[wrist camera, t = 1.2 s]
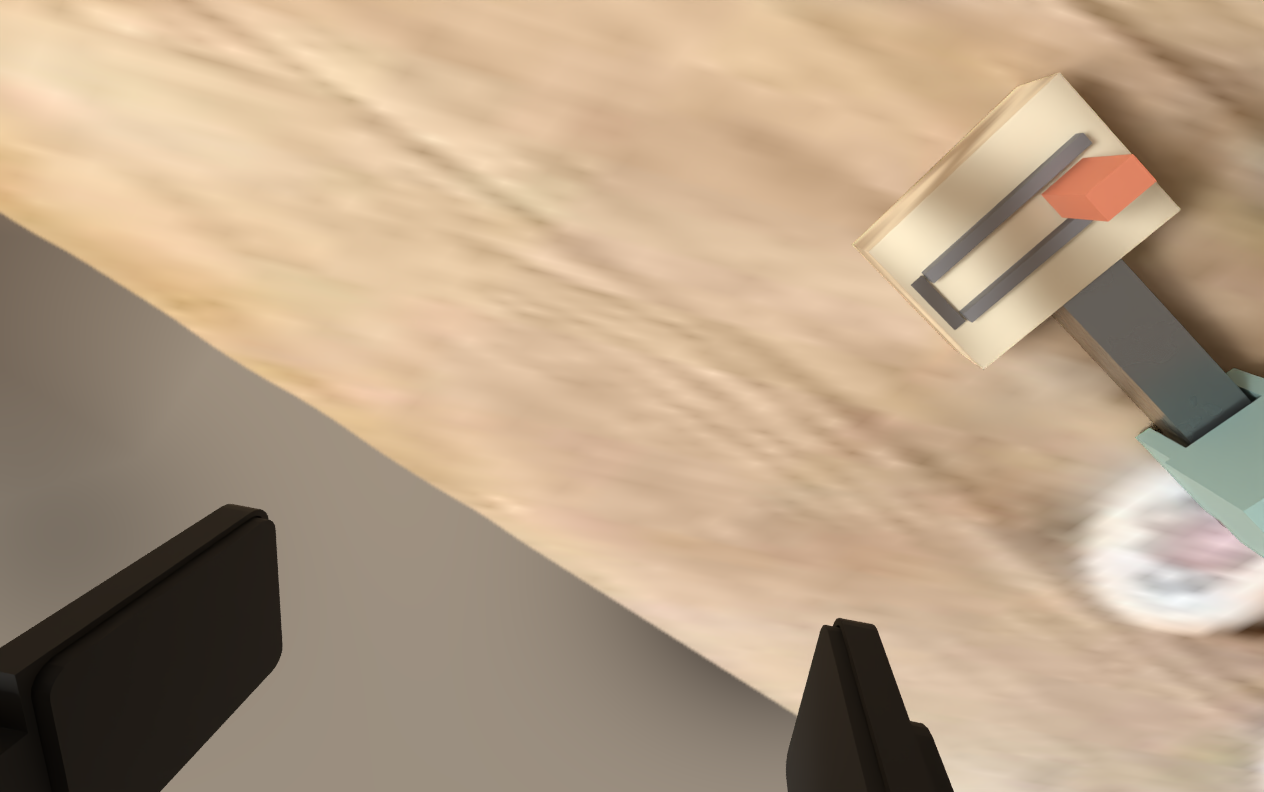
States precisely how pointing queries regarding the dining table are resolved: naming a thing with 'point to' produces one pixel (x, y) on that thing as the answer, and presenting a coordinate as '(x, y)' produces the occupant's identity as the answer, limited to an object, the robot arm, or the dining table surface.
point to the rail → (1151, 356)
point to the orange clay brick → (1099, 187)
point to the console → (1006, 224)
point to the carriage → (1224, 465)
